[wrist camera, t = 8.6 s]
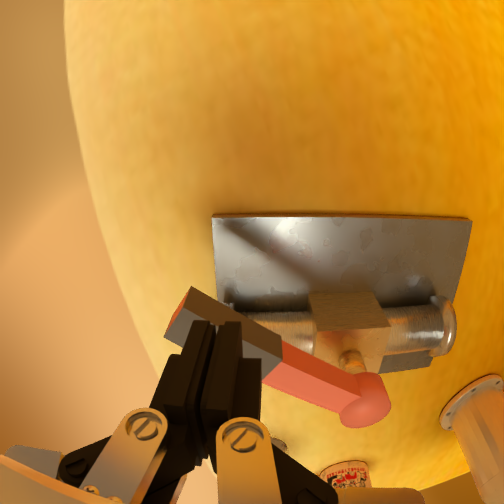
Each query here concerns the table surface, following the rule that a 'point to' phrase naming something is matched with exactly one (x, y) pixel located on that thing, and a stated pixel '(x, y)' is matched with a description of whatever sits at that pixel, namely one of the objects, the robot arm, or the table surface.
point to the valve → (346, 283)
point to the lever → (290, 364)
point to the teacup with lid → (347, 475)
